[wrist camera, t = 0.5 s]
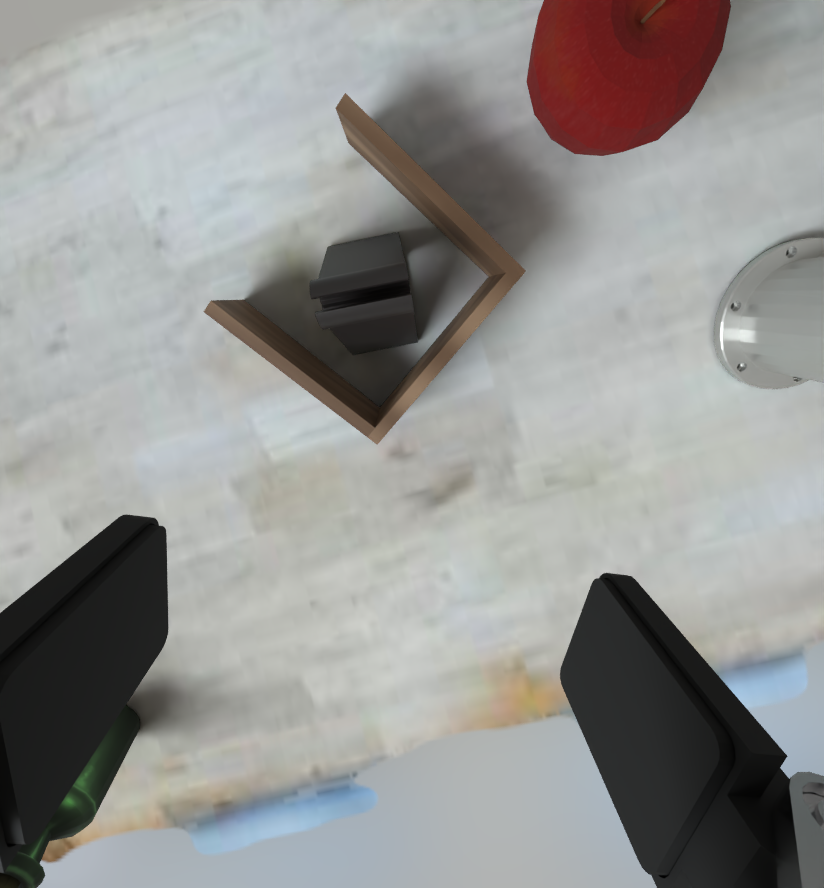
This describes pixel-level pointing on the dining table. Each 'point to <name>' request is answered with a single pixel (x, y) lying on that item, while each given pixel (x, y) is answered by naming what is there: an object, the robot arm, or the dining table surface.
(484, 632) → the dining table surface
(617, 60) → the apple
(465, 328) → the open box
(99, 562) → the robot arm
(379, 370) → the dining table surface
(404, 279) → the phone stand
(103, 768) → the potion bottle
